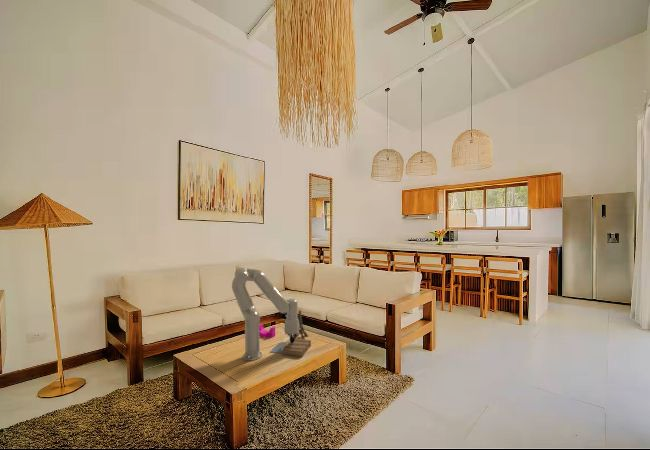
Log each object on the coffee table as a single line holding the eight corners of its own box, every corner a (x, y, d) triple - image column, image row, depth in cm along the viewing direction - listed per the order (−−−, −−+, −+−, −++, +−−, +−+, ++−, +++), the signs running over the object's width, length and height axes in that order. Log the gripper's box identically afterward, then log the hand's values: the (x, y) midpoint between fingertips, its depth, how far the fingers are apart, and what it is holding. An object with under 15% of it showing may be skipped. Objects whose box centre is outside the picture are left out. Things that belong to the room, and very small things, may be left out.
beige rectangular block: (285, 342, 213) (281, 342, 214) (285, 351, 213) (281, 350, 214) (289, 337, 222) (286, 337, 222) (290, 345, 222) (286, 345, 222)
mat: (283, 353, 209) (283, 353, 209) (269, 352, 212) (269, 351, 212) (291, 344, 225) (291, 344, 225) (279, 343, 227) (279, 342, 227)
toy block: (255, 335, 243) (255, 326, 243) (260, 333, 249) (260, 324, 249) (270, 339, 236) (270, 329, 236) (275, 336, 242) (275, 327, 242)
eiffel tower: (296, 334, 246) (296, 303, 245) (308, 335, 243) (308, 304, 242) (291, 339, 235) (291, 307, 235) (304, 340, 232) (303, 308, 232)
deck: (302, 357, 204) (301, 351, 204) (282, 355, 207) (282, 349, 207) (311, 345, 223) (310, 340, 223) (293, 343, 227) (293, 338, 227)
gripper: (280, 317, 214) (280, 343, 214) (300, 319, 210) (300, 345, 210) (284, 314, 221) (284, 339, 222) (303, 316, 217) (303, 341, 218)
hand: (292, 342), depth 216 cm, fingers closed
